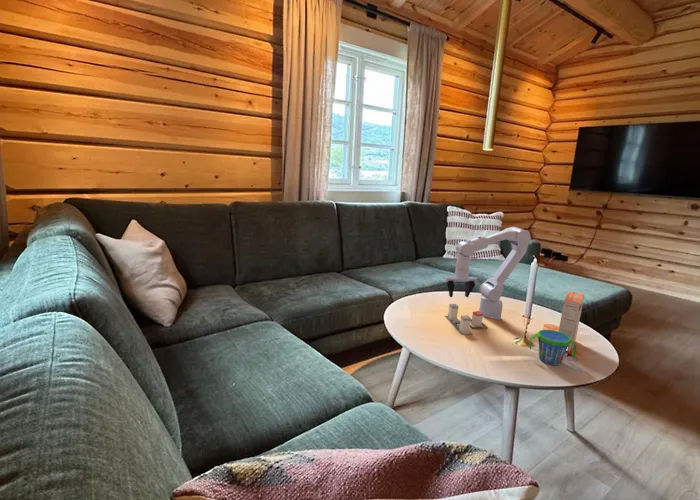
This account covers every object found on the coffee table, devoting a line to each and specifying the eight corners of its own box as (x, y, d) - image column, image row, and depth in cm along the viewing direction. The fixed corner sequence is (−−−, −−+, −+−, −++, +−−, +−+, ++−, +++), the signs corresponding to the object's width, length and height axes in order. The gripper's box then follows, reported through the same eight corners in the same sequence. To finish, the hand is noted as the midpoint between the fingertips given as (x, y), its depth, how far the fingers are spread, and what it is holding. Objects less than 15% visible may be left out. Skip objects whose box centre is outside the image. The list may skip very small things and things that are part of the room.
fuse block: (454, 318, 175) (455, 313, 174) (472, 337, 156) (473, 331, 156) (444, 318, 174) (444, 313, 173) (460, 337, 156) (461, 332, 155)
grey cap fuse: (454, 317, 173) (455, 303, 171) (456, 320, 170) (458, 306, 168) (447, 317, 172) (449, 303, 171) (450, 320, 169) (452, 306, 168)
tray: (478, 323, 170) (479, 319, 170) (486, 331, 163) (487, 327, 162) (463, 323, 170) (464, 319, 169) (471, 331, 162) (471, 327, 161)
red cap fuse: (476, 324, 167) (478, 311, 166) (481, 327, 165) (483, 313, 163) (470, 325, 166) (472, 311, 165) (475, 328, 164) (477, 314, 162)
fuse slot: (465, 329, 160) (467, 315, 159) (469, 333, 157) (471, 318, 156) (459, 329, 160) (461, 315, 158) (462, 333, 157) (464, 318, 155)
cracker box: (559, 336, 162) (568, 290, 157) (575, 341, 158) (585, 293, 153) (553, 348, 150) (563, 299, 146) (571, 353, 147) (581, 303, 142)
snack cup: (527, 362, 139) (531, 336, 136) (526, 349, 148) (530, 325, 146) (575, 373, 133) (581, 346, 131) (571, 359, 143) (576, 334, 140)
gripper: (473, 266, 176) (469, 293, 179) (443, 265, 174) (440, 293, 177) (480, 270, 169) (476, 299, 172) (449, 269, 167) (445, 298, 171)
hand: (458, 296), depth 174 cm, fingers open, 7 cm apart
